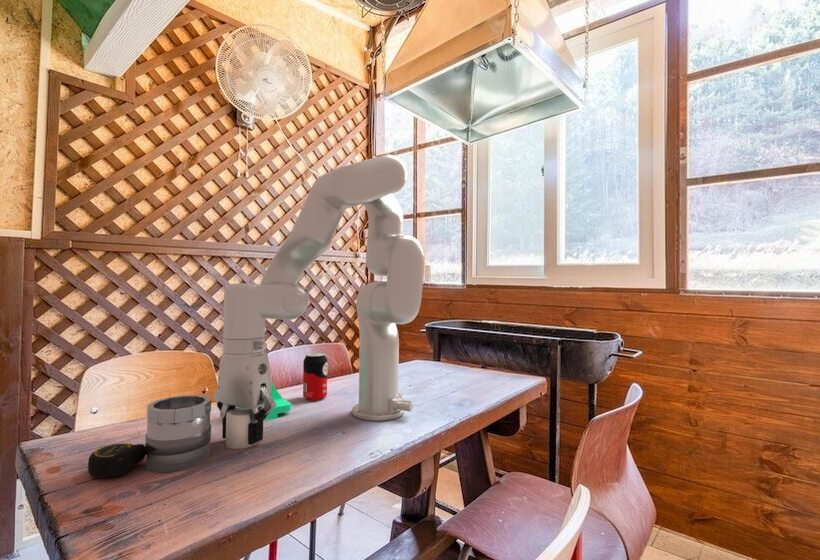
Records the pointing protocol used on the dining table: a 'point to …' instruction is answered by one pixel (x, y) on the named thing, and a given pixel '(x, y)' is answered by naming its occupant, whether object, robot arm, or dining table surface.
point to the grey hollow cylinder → (178, 433)
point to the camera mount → (277, 404)
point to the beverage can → (315, 376)
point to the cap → (238, 428)
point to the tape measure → (115, 459)
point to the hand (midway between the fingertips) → (242, 438)
